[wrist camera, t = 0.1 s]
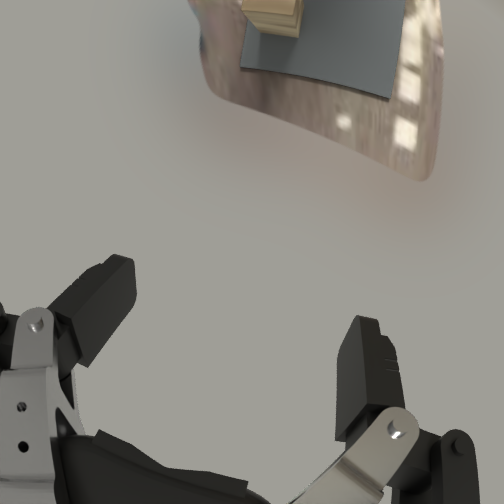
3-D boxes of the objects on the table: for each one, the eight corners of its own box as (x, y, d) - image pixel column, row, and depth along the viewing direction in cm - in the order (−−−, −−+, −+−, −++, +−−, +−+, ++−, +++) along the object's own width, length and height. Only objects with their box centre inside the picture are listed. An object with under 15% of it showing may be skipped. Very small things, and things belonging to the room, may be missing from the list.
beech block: (265, 1, 26) (248, -30, 18) (304, 6, 26) (299, -25, 17) (260, 32, 28) (240, 10, 20) (298, 37, 28) (292, 15, 19)
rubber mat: (257, -29, 25) (257, -30, 24) (404, 1, 23) (405, 0, 22) (240, 67, 31) (239, 66, 31) (389, 98, 30) (390, 98, 29)
